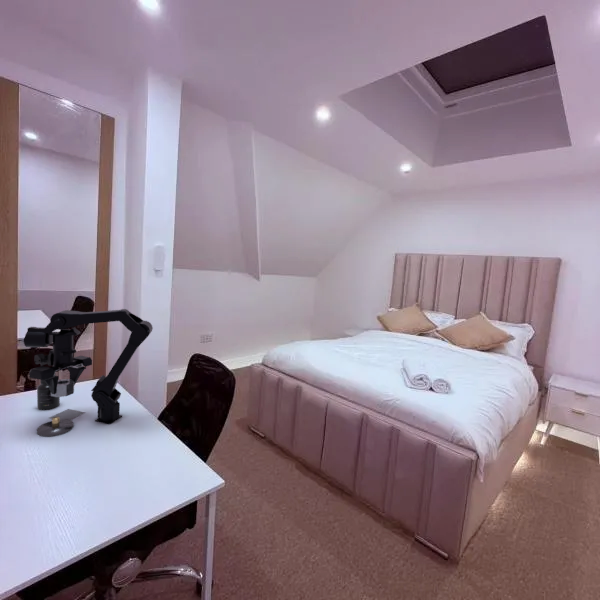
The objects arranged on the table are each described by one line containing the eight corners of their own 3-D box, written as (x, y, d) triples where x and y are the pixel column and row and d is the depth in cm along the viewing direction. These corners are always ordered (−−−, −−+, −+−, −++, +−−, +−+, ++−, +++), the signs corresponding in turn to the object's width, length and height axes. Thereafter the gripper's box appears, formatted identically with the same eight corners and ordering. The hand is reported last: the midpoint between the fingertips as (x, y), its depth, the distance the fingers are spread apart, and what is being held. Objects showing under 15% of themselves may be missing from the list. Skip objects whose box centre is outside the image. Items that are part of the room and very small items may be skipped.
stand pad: (85, 413, 123) (85, 412, 123) (66, 422, 115) (66, 421, 115) (68, 409, 124) (68, 408, 124) (48, 418, 117) (48, 418, 117)
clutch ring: (78, 391, 117) (78, 380, 116) (61, 398, 111) (61, 386, 110) (64, 388, 118) (64, 377, 118) (46, 394, 112) (46, 383, 112)
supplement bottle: (40, 404, 127) (40, 374, 125) (61, 402, 130) (61, 373, 128) (34, 412, 120) (34, 380, 119) (57, 410, 123) (57, 379, 122)
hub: (81, 425, 114) (81, 414, 113) (54, 440, 104) (54, 427, 104) (57, 420, 116) (57, 409, 115) (28, 434, 106) (28, 422, 106)
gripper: (69, 338, 124) (69, 378, 125) (16, 350, 106) (16, 396, 107) (93, 342, 121) (92, 383, 123) (42, 355, 103) (42, 402, 105)
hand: (62, 390), depth 114 cm, fingers closed on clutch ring, 6 cm apart
